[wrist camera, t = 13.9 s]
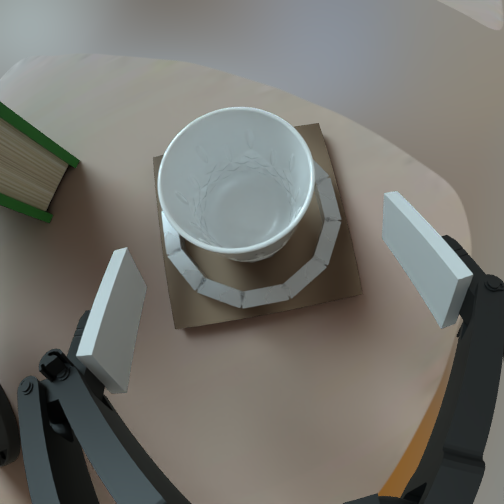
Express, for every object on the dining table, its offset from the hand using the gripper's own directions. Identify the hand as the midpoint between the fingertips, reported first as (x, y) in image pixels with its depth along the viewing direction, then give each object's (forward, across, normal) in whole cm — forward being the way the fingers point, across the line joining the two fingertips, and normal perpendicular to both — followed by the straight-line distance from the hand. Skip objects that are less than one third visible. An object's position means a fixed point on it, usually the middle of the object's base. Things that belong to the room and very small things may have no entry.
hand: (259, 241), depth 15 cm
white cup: (+9, 0, -4) cm, 10 cm away
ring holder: (+10, 0, -5) cm, 11 cm away
